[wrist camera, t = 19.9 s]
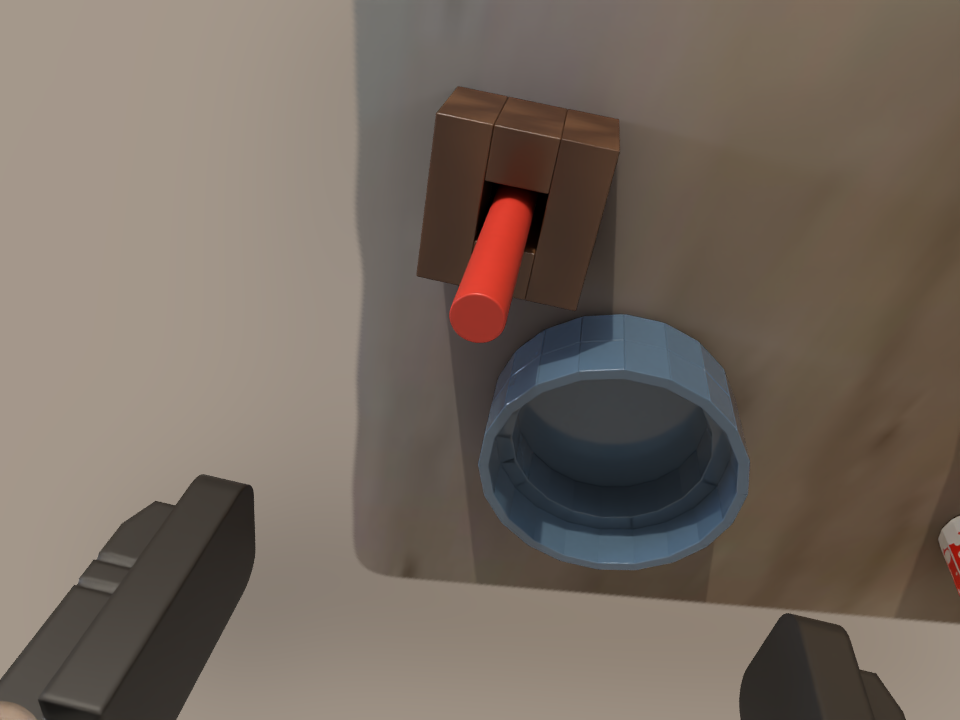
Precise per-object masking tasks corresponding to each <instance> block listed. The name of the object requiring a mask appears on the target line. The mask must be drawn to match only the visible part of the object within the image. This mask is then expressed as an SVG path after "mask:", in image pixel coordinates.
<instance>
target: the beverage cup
mask: <svg viewBox="0 0 960 720" xmlns="http://www.w3.org/2000/svg"><path fill="white" fill-rule="evenodd" d="M938 541H939V544H940V548H941V551H942V553H943V556H944V558H945V561H946V563H947V566H948V568H949V571H950V573H951V576H952V578H953V581H954V583H955V586H956V588H957V591H958V593H959V596H960V516H958V517H956V518H954V519H952V520H951V521H950V522H948V523H947V524H946V525H945V526H944V527H943V528H942V530H941V533H940V535H939V538H938Z"/></svg>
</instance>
